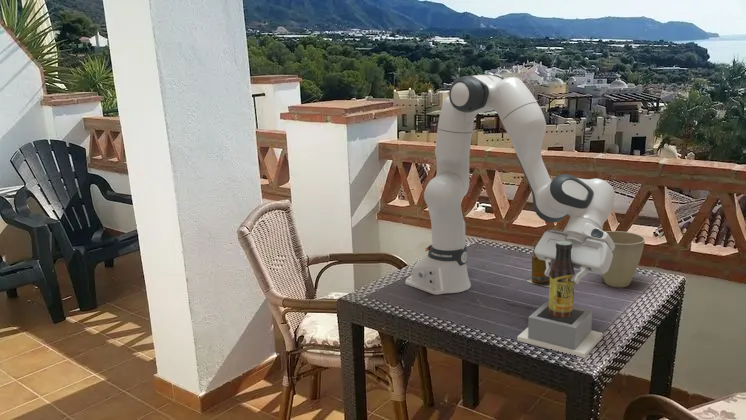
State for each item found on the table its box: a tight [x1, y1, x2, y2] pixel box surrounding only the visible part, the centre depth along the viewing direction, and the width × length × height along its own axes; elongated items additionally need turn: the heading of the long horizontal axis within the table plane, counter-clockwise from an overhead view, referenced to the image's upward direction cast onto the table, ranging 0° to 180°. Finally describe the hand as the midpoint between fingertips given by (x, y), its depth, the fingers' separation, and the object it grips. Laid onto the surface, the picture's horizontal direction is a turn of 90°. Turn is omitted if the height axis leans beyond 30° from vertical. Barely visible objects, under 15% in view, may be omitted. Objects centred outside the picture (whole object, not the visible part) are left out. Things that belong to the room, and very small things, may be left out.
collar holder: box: [516, 300, 604, 359], centre depth 156 cm, size 18×14×7 cm
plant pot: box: [601, 230, 646, 288], centre depth 191 cm, size 15×15×16 cm
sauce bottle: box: [548, 241, 576, 318], centre depth 153 cm, size 6×6×20 cm
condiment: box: [525, 246, 550, 288], centre depth 196 cm, size 7×8×12 cm
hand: (560, 279), depth 152 cm, fingers closed on sauce bottle, 6 cm apart
